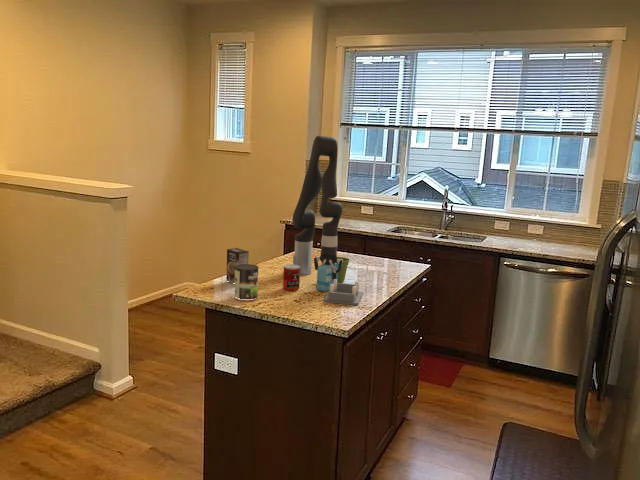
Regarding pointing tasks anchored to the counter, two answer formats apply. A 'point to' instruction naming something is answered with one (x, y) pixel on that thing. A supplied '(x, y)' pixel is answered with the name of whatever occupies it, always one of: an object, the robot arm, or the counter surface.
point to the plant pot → (342, 269)
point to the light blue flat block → (325, 277)
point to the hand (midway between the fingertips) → (327, 279)
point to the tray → (344, 293)
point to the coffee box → (235, 261)
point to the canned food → (291, 277)
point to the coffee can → (246, 281)
